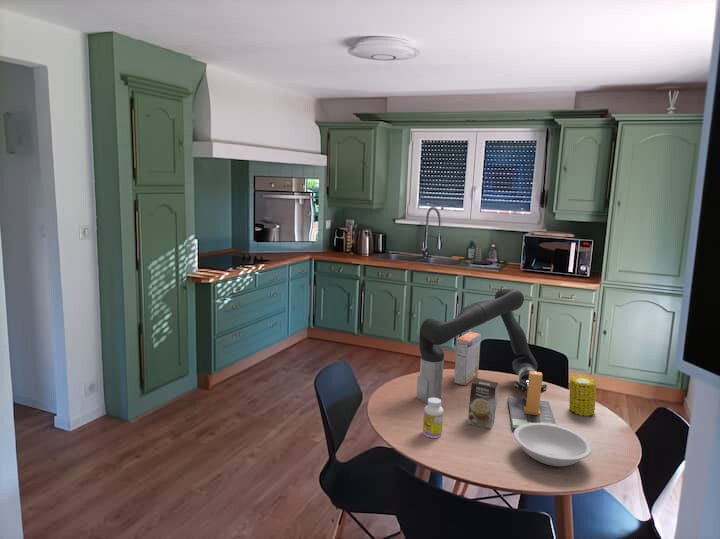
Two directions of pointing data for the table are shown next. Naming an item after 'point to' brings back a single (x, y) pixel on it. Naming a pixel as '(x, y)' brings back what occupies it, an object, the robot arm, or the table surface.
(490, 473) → the table surface
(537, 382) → the block
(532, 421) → the fader board
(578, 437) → the soup bowl
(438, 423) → the supplement bottle
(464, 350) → the cracker box
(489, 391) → the coffee box
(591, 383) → the food
